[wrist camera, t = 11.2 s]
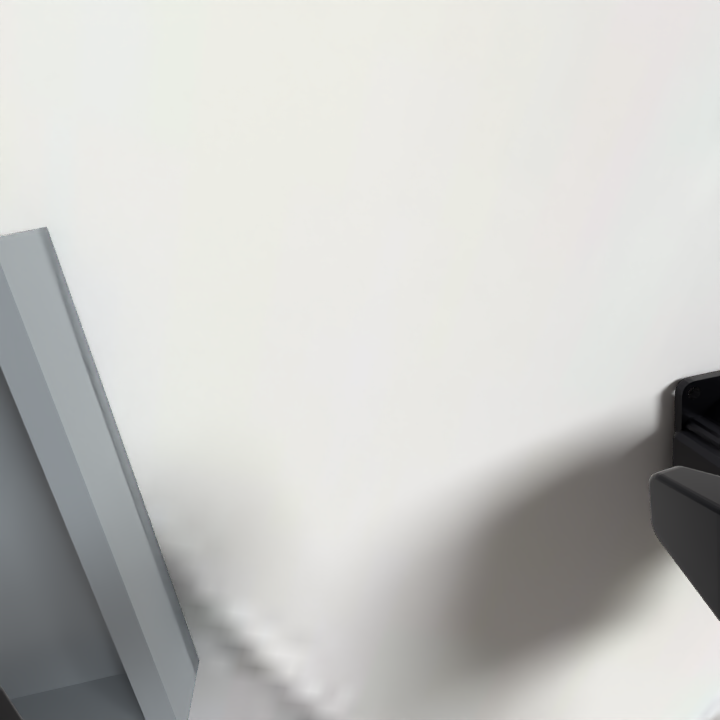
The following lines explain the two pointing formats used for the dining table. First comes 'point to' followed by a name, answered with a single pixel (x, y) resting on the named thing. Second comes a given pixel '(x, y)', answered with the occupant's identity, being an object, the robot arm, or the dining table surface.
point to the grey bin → (74, 524)
